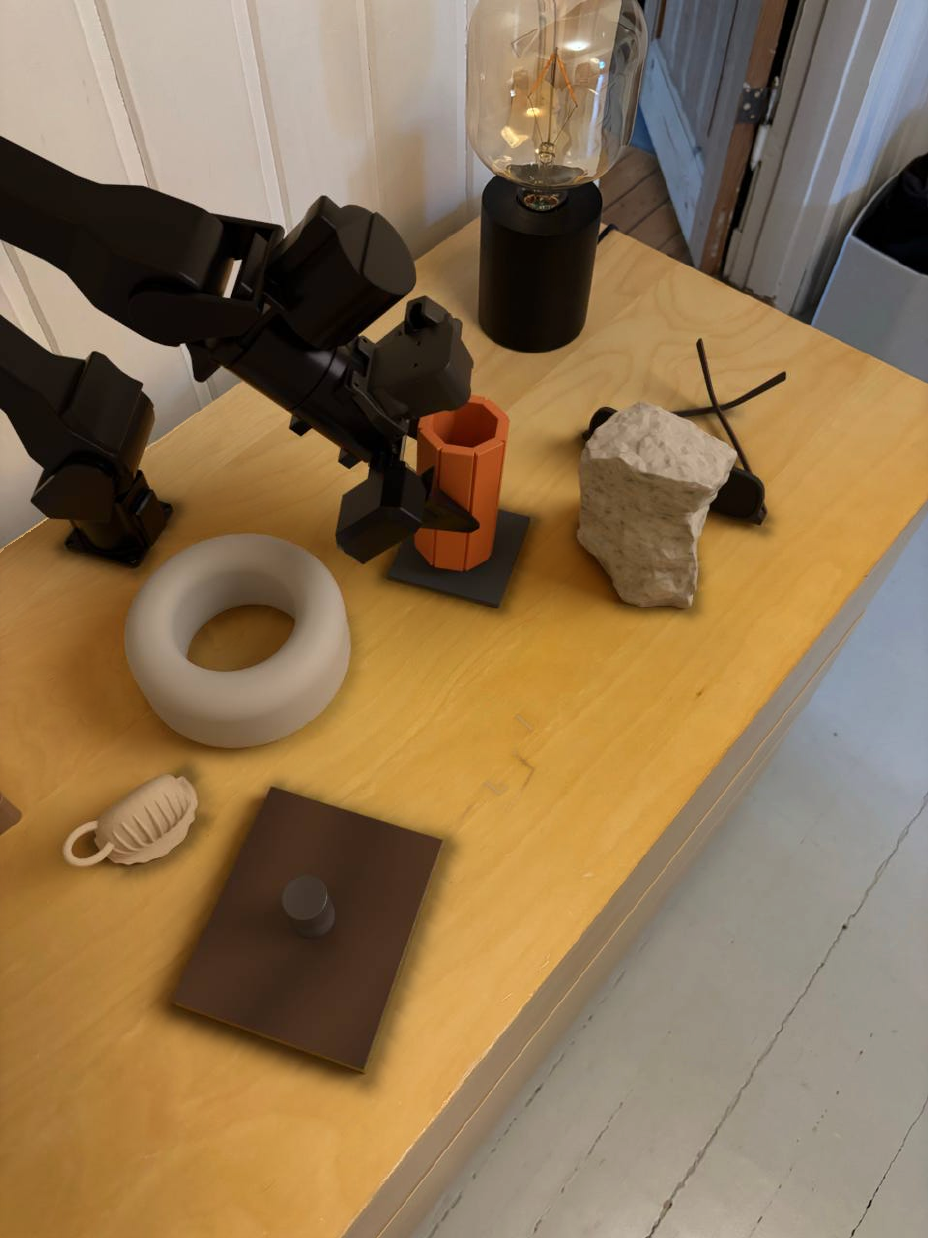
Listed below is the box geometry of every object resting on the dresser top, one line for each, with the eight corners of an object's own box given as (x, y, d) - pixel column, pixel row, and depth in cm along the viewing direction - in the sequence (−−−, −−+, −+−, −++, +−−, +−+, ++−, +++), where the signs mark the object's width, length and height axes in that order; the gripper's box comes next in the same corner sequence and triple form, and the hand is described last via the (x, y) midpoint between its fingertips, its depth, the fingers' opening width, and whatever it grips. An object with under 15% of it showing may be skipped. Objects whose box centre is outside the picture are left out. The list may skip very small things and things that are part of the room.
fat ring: (321, 555, 74) (309, 500, 68) (378, 714, 66) (371, 667, 60) (129, 610, 71) (101, 557, 65) (166, 783, 63) (138, 741, 58)
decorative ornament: (216, 819, 62) (197, 787, 57) (101, 899, 59) (72, 872, 54) (184, 775, 64) (164, 740, 59) (71, 851, 61) (41, 821, 56)
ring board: (177, 1006, 56) (151, 985, 51) (274, 794, 63) (259, 760, 58) (366, 1074, 54) (357, 1059, 49) (444, 847, 61) (442, 816, 56)
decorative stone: (717, 537, 75) (766, 402, 63) (683, 625, 70) (730, 497, 58) (596, 497, 77) (621, 358, 65) (556, 580, 73) (575, 447, 60)
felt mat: (387, 578, 73) (386, 575, 72) (425, 494, 77) (425, 490, 77) (498, 608, 71) (498, 605, 71) (530, 520, 76) (530, 516, 75)
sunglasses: (825, 432, 81) (845, 388, 77) (752, 539, 75) (769, 498, 71) (655, 355, 86) (665, 311, 82) (573, 449, 80) (579, 406, 76)
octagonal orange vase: (445, 582, 70) (454, 466, 61) (401, 531, 73) (402, 413, 63) (508, 548, 73) (526, 432, 63) (462, 501, 75) (473, 382, 66)
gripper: (372, 416, 50) (561, 554, 58) (408, 206, 60) (565, 351, 69) (252, 504, 56) (438, 616, 65) (303, 302, 67) (458, 423, 75)
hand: (478, 495), depth 69 cm, fingers closed on octagonal orange vase, 6 cm apart
